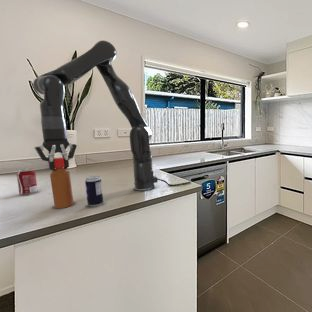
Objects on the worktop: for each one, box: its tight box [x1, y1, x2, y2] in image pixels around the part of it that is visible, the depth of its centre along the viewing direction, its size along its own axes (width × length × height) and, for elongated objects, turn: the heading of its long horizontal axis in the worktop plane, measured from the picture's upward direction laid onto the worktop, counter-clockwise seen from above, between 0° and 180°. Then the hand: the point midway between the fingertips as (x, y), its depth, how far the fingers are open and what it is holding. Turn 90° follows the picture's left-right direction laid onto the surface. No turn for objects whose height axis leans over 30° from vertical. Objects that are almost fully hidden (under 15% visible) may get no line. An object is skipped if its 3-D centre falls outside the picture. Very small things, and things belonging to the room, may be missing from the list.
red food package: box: [16, 168, 39, 196], centre depth 109 cm, size 7×7×12 cm
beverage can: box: [84, 175, 104, 207], centre depth 94 cm, size 6×6×12 cm
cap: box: [53, 157, 65, 168], centre depth 91 cm, size 4×4×4 cm
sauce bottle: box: [49, 167, 74, 209], centre depth 92 cm, size 6×6×20 cm
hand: (59, 169), depth 91 cm, fingers closed on cap, 3 cm apart
